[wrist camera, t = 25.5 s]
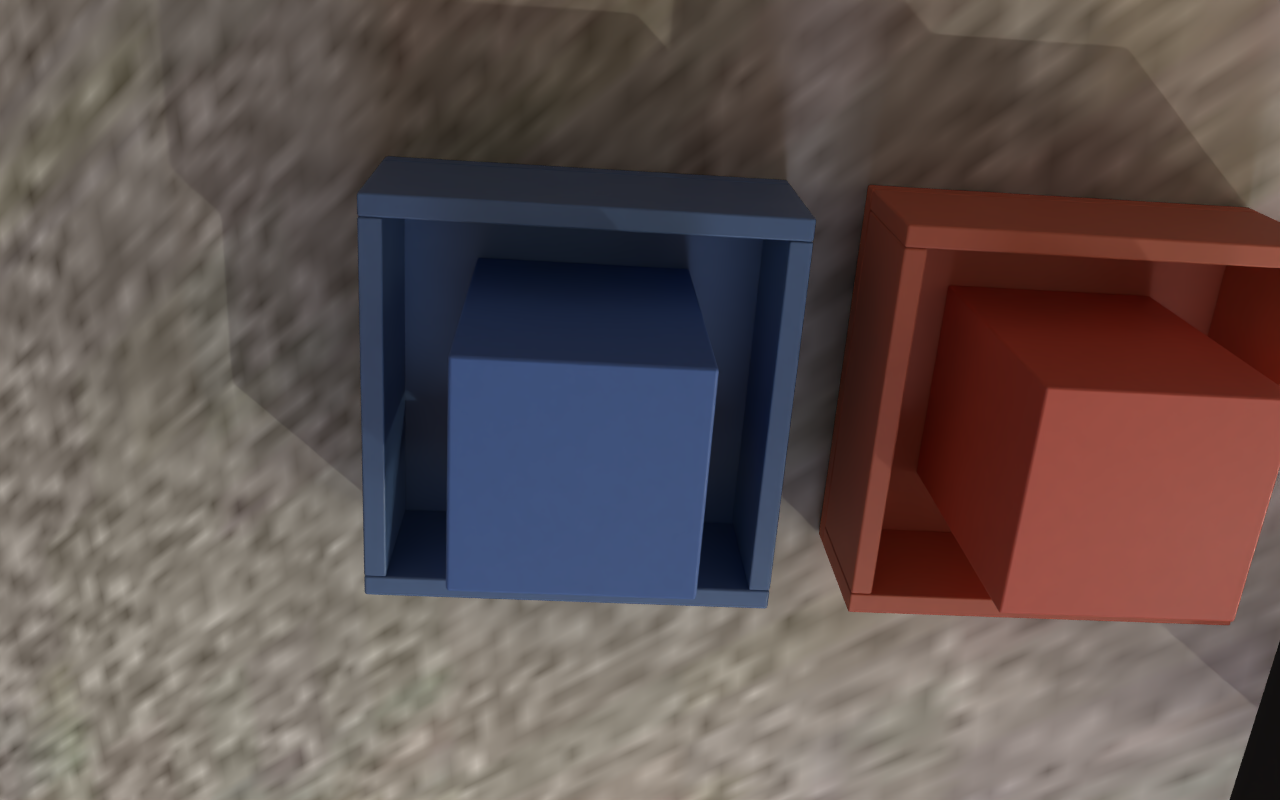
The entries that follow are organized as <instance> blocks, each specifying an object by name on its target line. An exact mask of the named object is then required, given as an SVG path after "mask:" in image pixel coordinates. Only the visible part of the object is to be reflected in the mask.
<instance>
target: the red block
mask: <svg viewBox="0 0 1280 800" xmlns="http://www.w3.org/2000/svg"><path fill="white" fill-rule="evenodd" d="M1279 468H1280V386H1279V385H1277V384H1276V383H1274V382H1273V381H1271V380H1270V379H1269V378H1267V377H1266V376H1264V375H1263V374H1261V373H1260V372H1258V371H1257V370H1255V369H1254V368H1253V367H1251V366H1250V365H1248V364H1247V363H1245V362H1244V361H1242V360H1241V359H1240V358H1238V357H1237V356H1235V355H1234V354H1232V353H1231V352H1229V351H1228V350H1226V349H1225V348H1224V347H1222V346H1221V345H1219V344H1218V343H1216V342H1215V341H1213V340H1212V339H1211V338H1209V337H1208V336H1206V335H1205V334H1203V333H1202V332H1200V331H1199V330H1197V329H1196V328H1195V327H1193V326H1192V325H1190V324H1189V323H1187V322H1186V321H1184V320H1183V319H1182V318H1180V317H1179V316H1177V315H1176V314H1174V313H1173V312H1171V311H1170V310H1168V309H1167V308H1166V307H1164V306H1163V305H1161V304H1160V303H1158V302H1157V301H1155V300H1154V299H1153V298H1151V297H1149V296H1139V295H1121V294H1103V293H1084V292H1066V291H1048V290H1029V289H1011V288H993V287H975V286H956V285H950V286H949V287H948V291H947V297H946V303H945V309H944V315H943V320H942V326H941V332H940V338H939V344H938V350H937V355H936V361H935V367H934V373H933V379H932V384H931V390H930V396H929V402H928V408H927V413H926V419H925V425H924V431H923V437H922V442H921V448H920V454H919V460H918V466H917V474H918V475H919V477H920V479H921V480H922V482H923V484H924V486H925V487H926V489H927V491H928V492H929V494H930V496H931V497H932V499H933V501H934V503H935V504H936V506H937V508H938V509H939V511H940V513H941V514H942V516H943V518H944V519H945V521H946V523H947V525H948V526H949V528H950V530H951V531H952V533H953V535H954V536H955V538H956V540H957V542H958V543H959V545H960V547H961V548H962V550H963V552H964V553H965V555H966V557H967V558H968V560H969V562H970V564H971V565H972V567H973V569H974V570H975V572H976V574H977V575H978V577H979V579H980V581H981V582H982V584H983V586H984V587H985V589H986V591H987V592H988V594H989V596H990V597H991V599H992V601H993V603H994V604H995V606H996V608H997V609H998V611H999V612H1000V613H1012V614H1040V615H1068V616H1095V617H1123V618H1151V619H1178V620H1206V621H1234V619H1235V616H1236V612H1237V609H1238V606H1239V602H1240V599H1241V596H1242V592H1243V589H1244V586H1245V582H1246V579H1247V575H1248V572H1249V569H1250V565H1251V562H1252V559H1253V555H1254V552H1255V549H1256V545H1257V542H1258V538H1259V535H1260V532H1261V528H1262V525H1263V522H1264V518H1265V515H1266V512H1267V508H1268V505H1269V501H1270V498H1271V495H1272V491H1273V488H1274V485H1275V481H1276V478H1277V475H1278V471H1279Z"/></svg>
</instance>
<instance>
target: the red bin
mask: <svg viewBox="0 0 1280 800" xmlns="http://www.w3.org/2000/svg"><path fill="white" fill-rule="evenodd" d="M950 285H956V286H975V287H993V288H1011V289H1029V290H1048V291H1066V292H1084V293H1103V294H1121V295H1139V296H1149V297H1151V298H1153V299H1154V300H1155V301H1157V302H1158V303H1160V304H1161V305H1163V306H1164V307H1166V308H1167V309H1168V310H1170V311H1171V312H1173V313H1174V314H1176V315H1177V316H1179V317H1180V318H1182V319H1183V320H1184V321H1186V322H1187V323H1189V324H1190V325H1192V326H1193V327H1195V328H1196V329H1197V330H1199V331H1200V332H1202V333H1203V334H1205V335H1206V336H1208V337H1209V338H1211V339H1212V340H1213V341H1215V342H1216V343H1218V344H1219V345H1221V346H1222V347H1224V348H1225V349H1226V350H1228V351H1229V352H1231V353H1232V354H1234V355H1235V356H1237V357H1238V358H1240V359H1241V360H1242V361H1244V362H1245V363H1247V364H1248V365H1250V366H1251V367H1253V368H1254V369H1255V370H1257V371H1258V372H1260V373H1261V374H1263V375H1264V376H1266V377H1267V378H1269V379H1270V380H1271V381H1273V382H1274V383H1276V384H1277V385H1279V386H1280V222H1278V221H1276V220H1274V219H1272V218H1269V217H1267V216H1265V215H1263V214H1261V213H1258V212H1257V211H1255V210H1252V209H1250V208H1246V207H1229V206H1212V205H1195V204H1179V203H1162V202H1145V201H1129V200H1112V199H1095V198H1079V197H1062V196H1045V195H1029V194H1012V193H995V192H978V191H962V190H945V189H928V188H912V187H895V186H878V185H869V186H868V190H867V198H866V205H865V212H864V219H863V226H862V233H861V240H860V247H859V254H858V261H857V268H856V275H855V283H854V290H853V297H852V304H851V311H850V318H849V325H848V332H847V339H846V346H845V353H844V360H843V367H842V375H841V382H840V389H839V396H838V403H837V410H836V417H835V424H834V431H833V438H832V445H831V452H830V459H829V467H828V474H827V481H826V488H825V495H824V502H823V509H822V516H821V523H820V530H819V535H820V537H821V540H822V542H823V545H824V548H825V550H826V553H827V556H828V558H829V561H830V564H831V566H832V569H833V572H834V574H835V577H836V580H837V582H838V585H839V588H840V590H841V593H842V596H843V598H844V601H845V603H846V606H847V609H848V611H849V612H873V613H901V614H929V615H957V616H985V617H1013V618H1040V619H1068V620H1096V621H1124V622H1152V623H1180V624H1208V625H1230V622H1231V621H1206V620H1178V619H1151V618H1123V617H1095V616H1068V615H1040V614H1012V613H1000V612H999V611H998V609H997V608H996V606H995V604H994V603H993V601H992V599H991V597H990V596H989V594H988V592H987V591H986V589H985V587H984V586H983V584H982V582H981V581H980V579H979V577H978V575H977V574H976V572H975V570H974V569H973V567H972V565H971V564H970V562H969V560H968V558H967V557H966V555H965V553H964V552H963V550H962V548H961V547H960V545H959V543H958V542H957V540H956V538H955V536H954V535H953V533H952V531H951V530H950V528H949V526H948V525H947V523H946V521H945V519H944V518H943V516H942V514H941V513H940V511H939V509H938V508H937V506H936V504H935V503H934V501H933V499H932V497H931V496H930V494H929V492H928V491H927V489H926V487H925V486H924V484H923V482H922V480H921V479H920V477H919V475H918V474H917V466H918V460H919V454H920V448H921V442H922V437H923V431H924V425H925V419H926V413H927V408H928V402H929V396H930V390H931V384H932V379H933V373H934V367H935V361H936V355H937V350H938V344H939V338H940V332H941V326H942V320H943V315H944V309H945V303H946V297H947V291H948V287H949V286H950Z"/></svg>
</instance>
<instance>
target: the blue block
mask: <svg viewBox="0 0 1280 800" xmlns="http://www.w3.org/2000/svg"><path fill="white" fill-rule="evenodd" d="M718 375H719V370H718V367H717V363H716V360H715V356H714V353H713V350H712V346H711V343H710V339H709V336H708V333H707V329H706V326H705V322H704V319H703V316H702V312H701V309H700V305H699V302H698V298H697V295H696V292H695V288H694V285H693V281H692V278H691V275H690V271H689V270H687V269H673V268H655V267H637V266H619V265H600V264H582V263H564V262H545V261H527V260H509V259H490V258H479V259H478V260H477V262H476V265H475V269H474V272H473V276H472V279H471V282H470V286H469V289H468V292H467V296H466V299H465V302H464V306H463V309H462V313H461V316H460V319H459V323H458V326H457V329H456V333H455V336H454V340H453V343H452V346H451V350H450V353H449V356H448V415H447V518H446V588H447V590H449V591H470V592H498V593H525V594H553V595H580V596H608V597H636V598H663V599H691V600H692V599H695V597H696V594H697V584H698V574H699V564H700V554H701V544H702V534H703V524H704V514H705V504H706V494H707V484H708V474H709V464H710V454H711V444H712V434H713V425H714V415H715V405H716V395H717V385H718Z"/></svg>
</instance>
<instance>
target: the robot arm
mask: <svg viewBox="0 0 1280 800" xmlns="http://www.w3.org/2000/svg"><path fill="white" fill-rule="evenodd" d="M1230 800H1280V642H1279V645H1278V648H1277V652H1276V655H1275V658H1274V661H1273V664H1272V667H1271V671H1270V674H1269V677H1268V680H1267V683H1266V686H1265V690H1264V693H1263V696H1262V699H1261V702H1260V705H1259V709H1258V712H1257V715H1256V718H1255V721H1254V724H1253V728H1252V731H1251V734H1250V737H1249V740H1248V743H1247V747H1246V750H1245V753H1244V756H1243V759H1242V762H1241V766H1240V769H1239V772H1238V775H1237V778H1236V781H1235V785H1234V788H1233V791H1232V794H1231V797H1230Z"/></svg>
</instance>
